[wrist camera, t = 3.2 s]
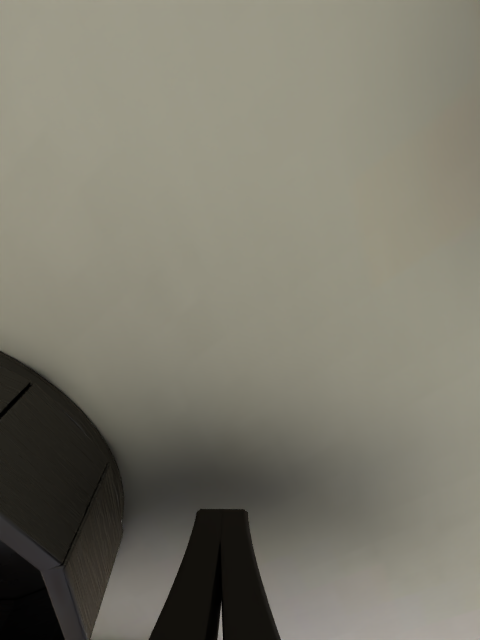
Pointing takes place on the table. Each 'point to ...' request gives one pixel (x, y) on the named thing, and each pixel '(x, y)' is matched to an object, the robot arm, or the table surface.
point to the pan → (52, 511)
